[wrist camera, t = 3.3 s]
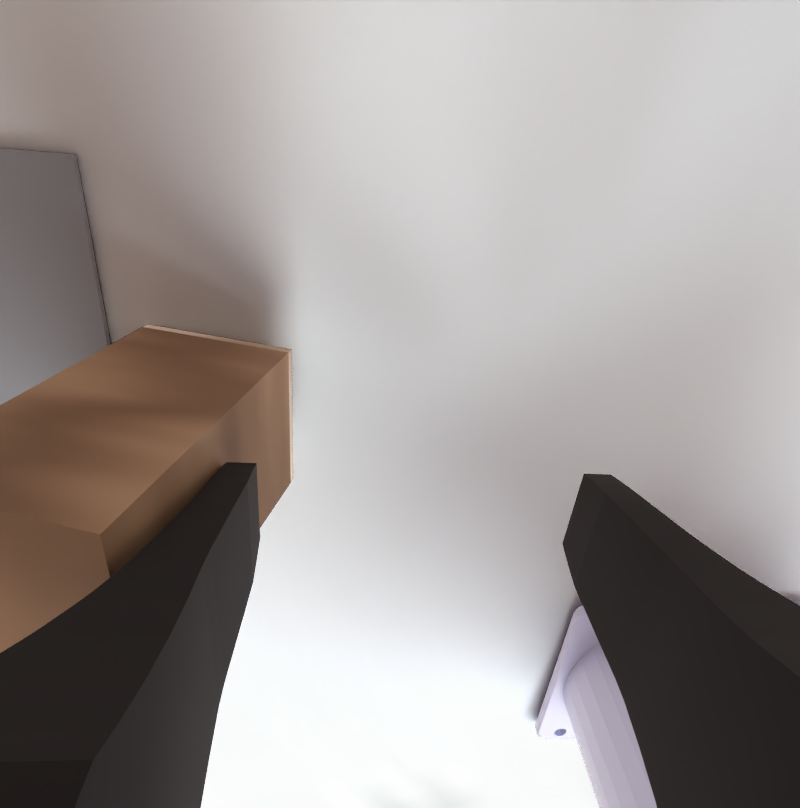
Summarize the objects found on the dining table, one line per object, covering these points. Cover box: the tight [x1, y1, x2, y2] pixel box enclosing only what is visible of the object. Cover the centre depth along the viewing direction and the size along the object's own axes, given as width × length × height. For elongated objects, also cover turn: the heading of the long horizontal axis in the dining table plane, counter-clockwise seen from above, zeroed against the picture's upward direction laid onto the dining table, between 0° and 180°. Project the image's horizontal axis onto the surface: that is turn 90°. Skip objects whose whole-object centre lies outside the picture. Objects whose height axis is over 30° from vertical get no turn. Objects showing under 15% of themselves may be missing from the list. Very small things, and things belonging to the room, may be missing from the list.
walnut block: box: [0, 324, 293, 653], centre depth 12 cm, size 4×4×7 cm
